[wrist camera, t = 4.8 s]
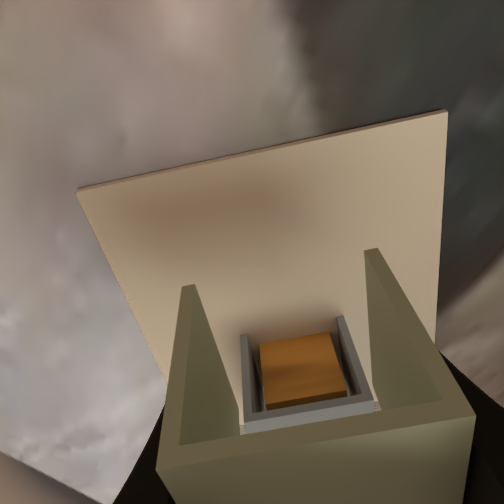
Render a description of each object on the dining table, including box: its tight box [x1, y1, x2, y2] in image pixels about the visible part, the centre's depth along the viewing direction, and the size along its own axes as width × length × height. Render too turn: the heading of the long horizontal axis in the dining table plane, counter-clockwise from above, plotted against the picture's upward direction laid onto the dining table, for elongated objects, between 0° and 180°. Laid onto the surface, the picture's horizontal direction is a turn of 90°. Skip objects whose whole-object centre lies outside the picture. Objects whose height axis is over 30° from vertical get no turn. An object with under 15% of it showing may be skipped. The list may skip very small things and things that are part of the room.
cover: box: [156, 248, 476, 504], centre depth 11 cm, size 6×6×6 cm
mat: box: [75, 109, 448, 425], centre depth 22 cm, size 18×16×1 cm
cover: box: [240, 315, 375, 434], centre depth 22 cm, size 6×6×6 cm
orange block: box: [259, 331, 347, 411], centre depth 23 cm, size 4×4×4 cm
